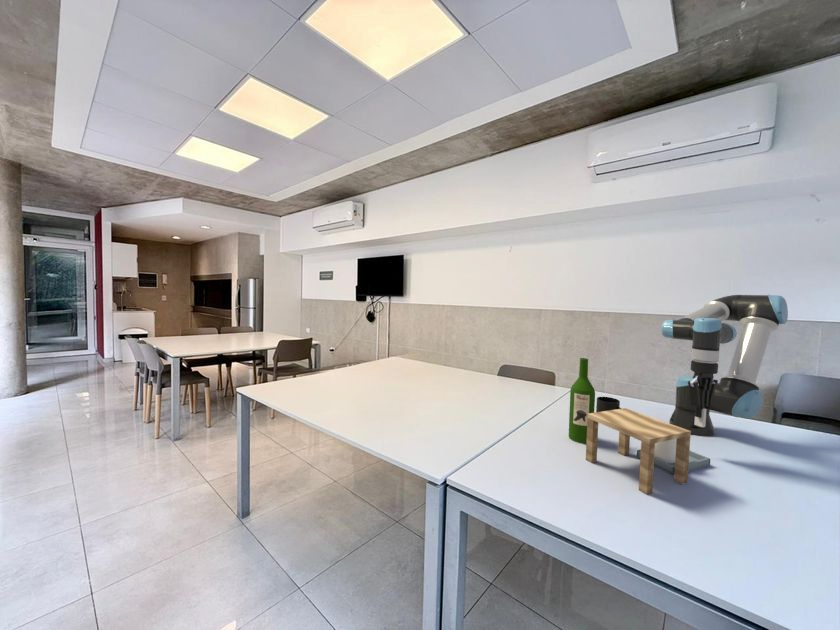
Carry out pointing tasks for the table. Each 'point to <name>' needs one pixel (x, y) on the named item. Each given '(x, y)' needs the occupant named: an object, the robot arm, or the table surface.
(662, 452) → the beverage can
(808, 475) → the table surface
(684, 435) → the small wooden table
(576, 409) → the wine bottle
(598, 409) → the mug
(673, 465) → the tray
